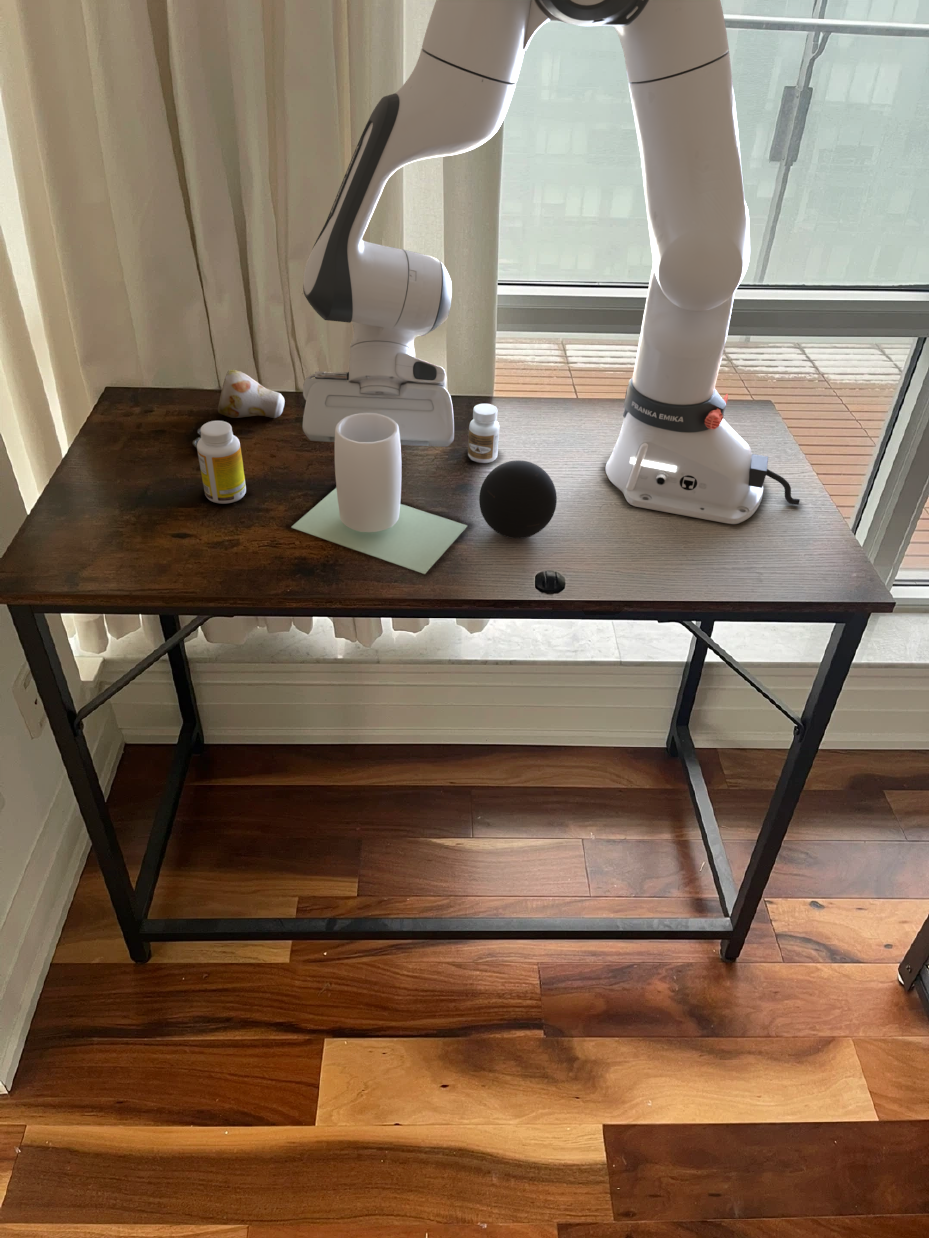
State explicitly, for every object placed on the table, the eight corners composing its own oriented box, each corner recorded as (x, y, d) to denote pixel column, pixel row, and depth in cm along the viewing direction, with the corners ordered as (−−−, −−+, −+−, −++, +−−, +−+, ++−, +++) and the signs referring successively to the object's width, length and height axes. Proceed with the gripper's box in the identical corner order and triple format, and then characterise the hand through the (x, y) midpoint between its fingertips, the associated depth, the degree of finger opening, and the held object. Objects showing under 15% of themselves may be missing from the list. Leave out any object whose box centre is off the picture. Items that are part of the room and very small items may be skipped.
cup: (392, 545, 120) (391, 449, 111) (329, 536, 121) (323, 440, 112) (408, 509, 127) (408, 415, 117) (348, 500, 128) (344, 407, 118)
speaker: (466, 542, 121) (470, 477, 115) (491, 503, 129) (495, 439, 122) (540, 561, 119) (548, 495, 113) (561, 519, 126) (569, 455, 120)
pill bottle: (463, 460, 137) (466, 413, 132) (473, 446, 140) (475, 399, 135) (492, 466, 136) (495, 419, 131) (500, 452, 139) (504, 405, 134)
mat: (467, 526, 125) (467, 525, 124) (424, 574, 116) (424, 573, 116) (340, 485, 131) (340, 484, 131) (290, 528, 123) (290, 527, 122)
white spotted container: (288, 429, 142) (248, 381, 135) (237, 445, 146) (196, 400, 139) (297, 395, 146) (259, 347, 139) (247, 412, 150) (208, 366, 143)
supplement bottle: (254, 489, 129) (246, 423, 122) (232, 509, 125) (222, 442, 118) (219, 479, 130) (210, 413, 124) (196, 499, 126) (185, 432, 120)
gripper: (300, 362, 122) (295, 466, 121) (456, 369, 123) (452, 473, 122) (307, 378, 128) (302, 477, 128) (455, 385, 129) (451, 483, 128)
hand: (377, 475), depth 125 cm, fingers closed, pressing on cup
